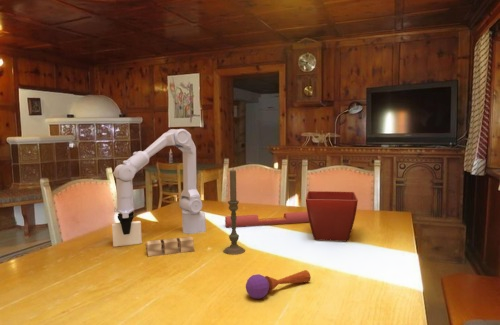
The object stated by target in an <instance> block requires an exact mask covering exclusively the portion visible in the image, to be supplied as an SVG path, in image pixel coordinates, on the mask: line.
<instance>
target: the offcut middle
mask: <svg viewBox="0 0 500 325" xmlns="http://www.w3.org/2000/svg"><path fill="white" fill-rule="evenodd" d="M176 238H177V237H175V238H174V237H173V239H172V238H165V239H164V240H163V241H164V253H165V254H168V255H172V254H171V253H177V254H179V253H178V241H177V239H176Z"/></svg>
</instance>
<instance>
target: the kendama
mask: <svg viewBox="0 0 500 325" xmlns="http://www.w3.org/2000/svg"><path fill="white" fill-rule="evenodd" d="M246 280H247V281H246V284H245V291H246V293H247V294H248V295H249V297H250V298H252V299H255V300H258V299H263V298H264V297H265V296H266V295H268V293H269V294H270V293H271V292H272V291H273V290H275V288H277V286H279V285H284V284H286V285H287V284H299V283H309V282H310V281H311V273H310V271H308V270H307V269H305V270H301V271H300V272H299V271H298V272H296V273H293V274H290V275H288V276H285V277H283V278H280V279H276V278H273V277H271V276H268V275H265V276H264V275H261V274H259V273H257V274H253V275H251V276H250V277H248V279H246Z"/></svg>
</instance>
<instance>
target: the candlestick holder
mask: <svg viewBox="0 0 500 325" xmlns="http://www.w3.org/2000/svg"><path fill="white" fill-rule="evenodd" d="M239 203H240V201H239V200H237V171H236V169H230V170H229V200H228V201H227V204H228V205H229V206H228V210H230V211H231V213H230V216H231V220H232V221H231V222H232V226H231V227H230V228H231V233H230V234H229V235H228V239H229V241H230V245H229V246H226V247H225V248H224V249H223V251H222V252H223V253H224V254H225V255H232V256H234V255H235V256H236V255H237V256H239V255H242V254H245V252H246V249H245V248H244V247H242V246H239V245H238V241H239V238H240V236H239V234H238V233H237V230H236V229H237V227H236V219H237V217H236V216H237V213H236V212H237V211H238V209H239Z"/></svg>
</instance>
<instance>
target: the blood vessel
mask: <svg viewBox="0 0 500 325" xmlns="http://www.w3.org/2000/svg"><path fill="white" fill-rule="evenodd" d="M236 217H237V219H236V228H239V227H256V226H257V227H258V226H259V227H260V226H273V225H287V224H288V225H290V224H303V223H304V224H306V223H310V222H309V217H308V212H307V211H299V212H298V211H297V212H284V214H283V217H273V218H270V217H269V218H268V217H267V218H259V215H258V214H247V215H236ZM224 218H225V219H224V225H225V228H226V229H227V228H232V227H231V226H232V222H231V221H232V220H231V215H229V216H228V215H227V216H225V217H224Z"/></svg>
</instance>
